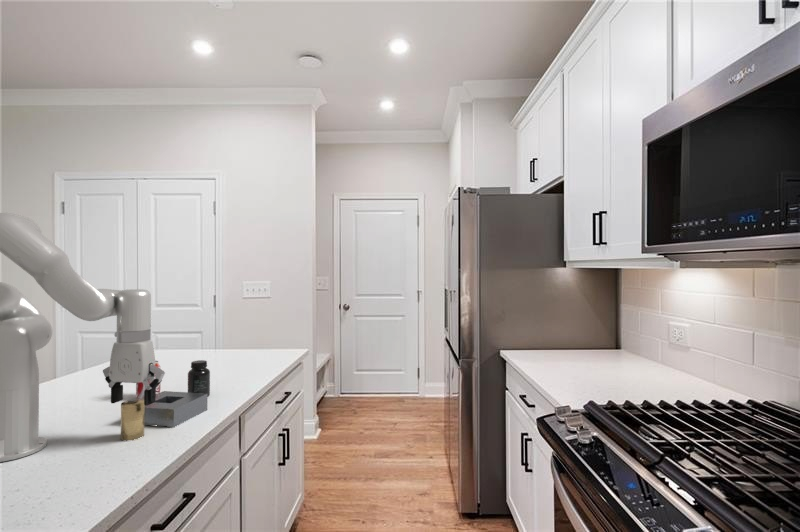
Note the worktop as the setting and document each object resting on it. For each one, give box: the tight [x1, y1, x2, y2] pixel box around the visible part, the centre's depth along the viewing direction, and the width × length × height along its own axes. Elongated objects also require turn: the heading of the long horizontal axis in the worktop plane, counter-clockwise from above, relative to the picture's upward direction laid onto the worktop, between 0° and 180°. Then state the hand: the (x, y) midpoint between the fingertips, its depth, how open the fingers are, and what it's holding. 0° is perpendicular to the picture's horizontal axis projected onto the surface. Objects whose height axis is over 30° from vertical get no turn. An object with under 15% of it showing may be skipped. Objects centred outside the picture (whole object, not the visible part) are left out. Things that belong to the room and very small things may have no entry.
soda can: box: [135, 360, 161, 399], centre depth 143 cm, size 7×7×12 cm
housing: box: [143, 390, 208, 428], centre depth 125 cm, size 15×15×5 cm
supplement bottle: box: [187, 359, 211, 398], centre depth 144 cm, size 7×7×12 cm
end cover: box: [120, 398, 145, 441], centre depth 110 cm, size 5×5×9 cm
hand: (133, 402), depth 110 cm, fingers open, 9 cm apart
